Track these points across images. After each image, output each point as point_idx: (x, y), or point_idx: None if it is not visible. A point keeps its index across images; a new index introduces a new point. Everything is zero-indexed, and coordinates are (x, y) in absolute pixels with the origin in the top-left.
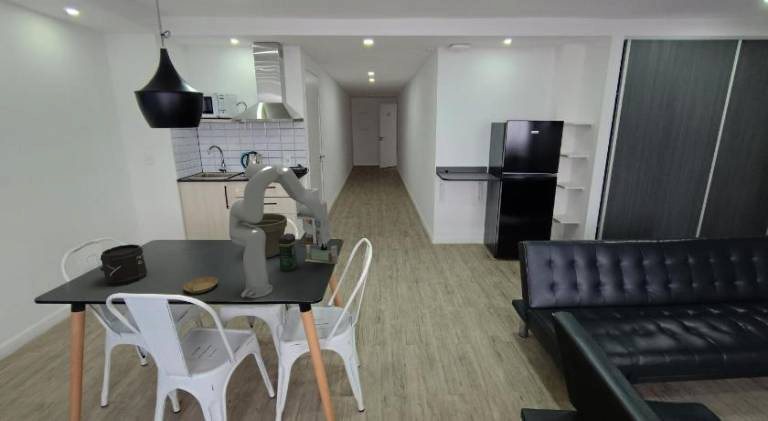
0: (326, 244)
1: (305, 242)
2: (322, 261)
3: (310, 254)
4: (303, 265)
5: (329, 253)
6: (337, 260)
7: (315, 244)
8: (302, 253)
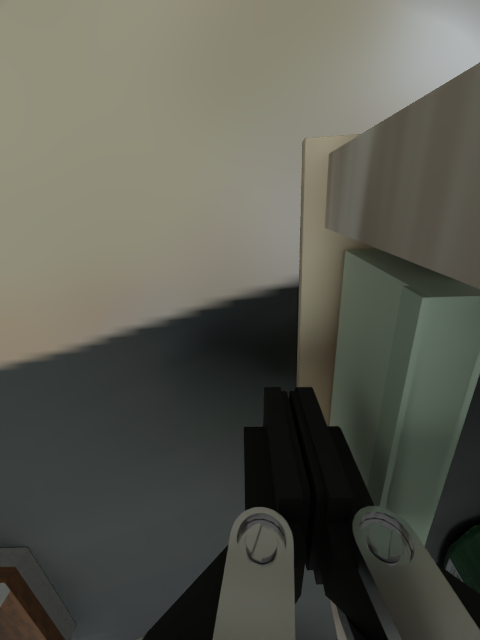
0: (282, 570)
1: (30, 635)
2: None
3: None
4: (467, 480)
5: None
6: (332, 152)
7: (2, 567)
8: (201, 569)
